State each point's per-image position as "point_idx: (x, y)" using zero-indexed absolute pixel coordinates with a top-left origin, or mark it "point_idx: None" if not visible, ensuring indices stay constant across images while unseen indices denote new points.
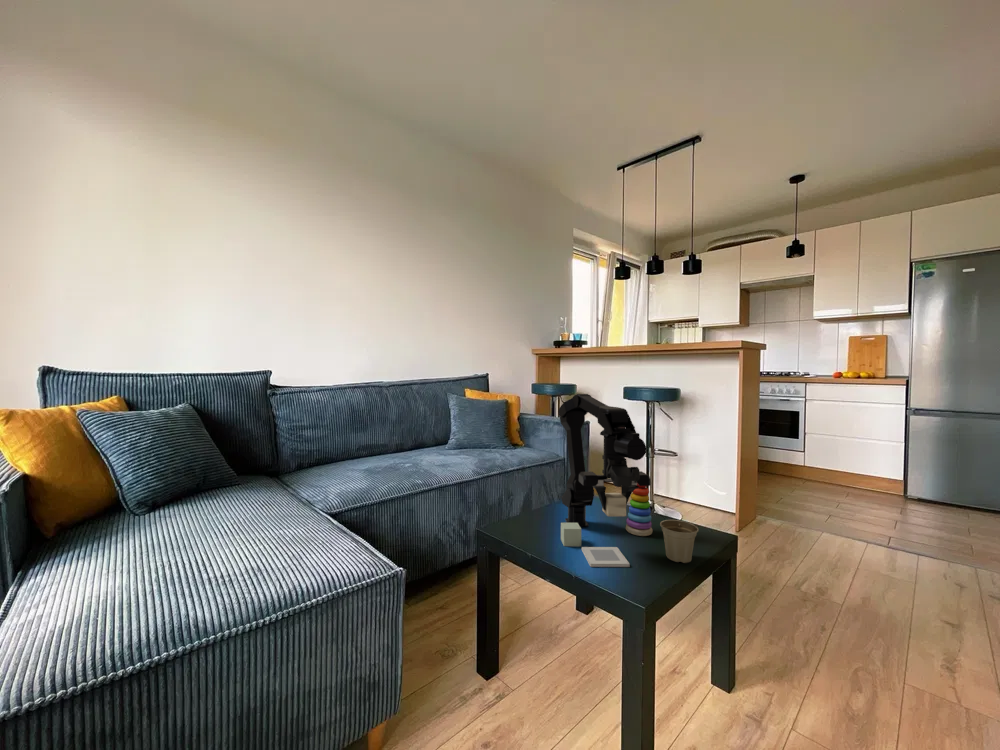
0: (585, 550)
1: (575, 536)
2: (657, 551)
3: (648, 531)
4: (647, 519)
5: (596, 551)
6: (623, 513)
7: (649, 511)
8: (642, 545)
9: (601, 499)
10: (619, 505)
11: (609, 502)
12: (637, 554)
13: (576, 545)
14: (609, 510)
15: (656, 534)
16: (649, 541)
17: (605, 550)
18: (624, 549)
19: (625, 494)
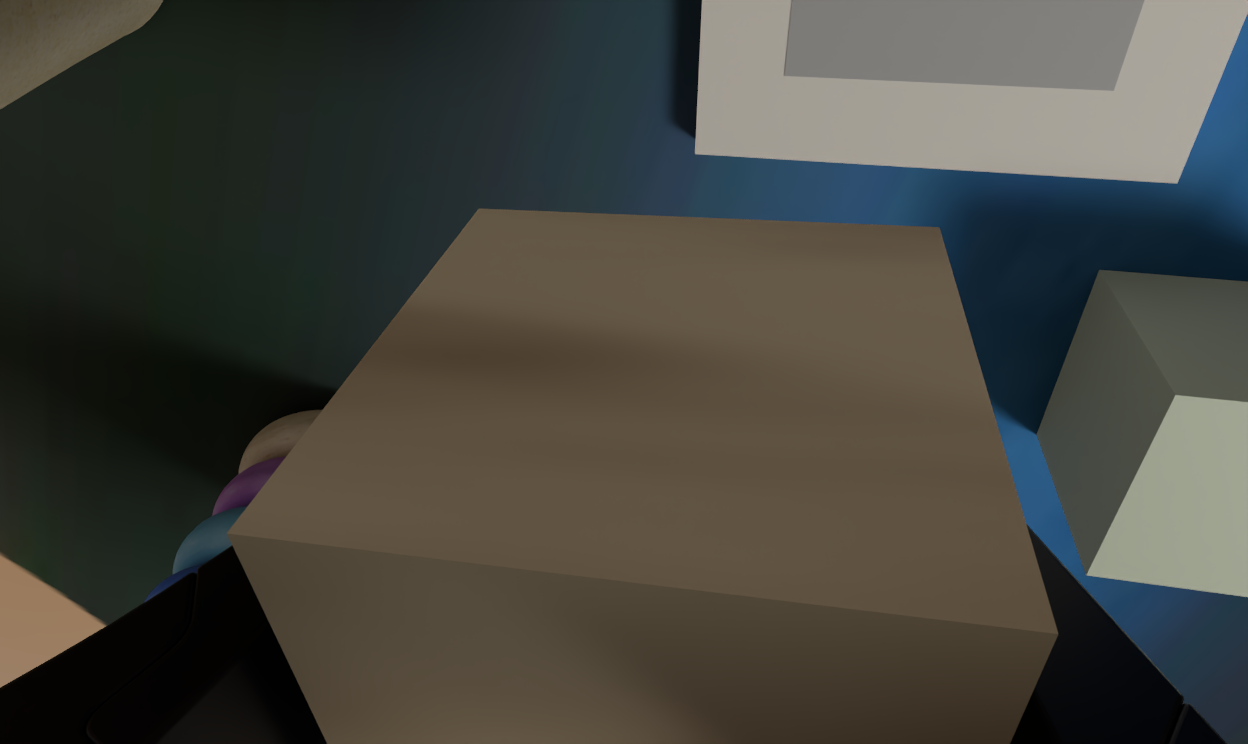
0: (1191, 70)
1: (1227, 341)
2: (260, 82)
3: (276, 434)
4: (218, 522)
5: (1044, 27)
6: (522, 242)
7: (148, 599)
8: (389, 235)
9: (1150, 705)
10: (578, 373)
11: (956, 474)
12: (494, 9)
13: (1166, 279)
14: (917, 308)
15: (228, 432)
16: (307, 313)
17: (895, 55)
18: (607, 153)
19: (209, 723)
